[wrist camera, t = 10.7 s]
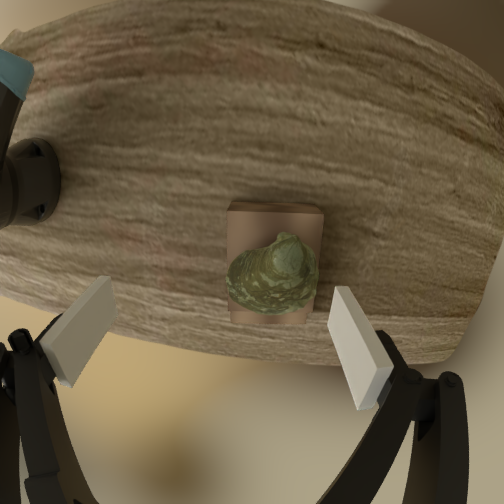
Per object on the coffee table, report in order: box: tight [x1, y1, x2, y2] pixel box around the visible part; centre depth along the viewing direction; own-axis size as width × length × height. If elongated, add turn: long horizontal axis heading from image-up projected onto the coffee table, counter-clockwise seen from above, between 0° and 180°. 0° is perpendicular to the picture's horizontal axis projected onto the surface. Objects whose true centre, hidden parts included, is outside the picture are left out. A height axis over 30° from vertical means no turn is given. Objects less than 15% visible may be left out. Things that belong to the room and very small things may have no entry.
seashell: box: [226, 232, 319, 315], centre depth 31 cm, size 10×7×10 cm
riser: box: [227, 201, 324, 324], centre depth 37 cm, size 11×17×6 cm, turn 179°
